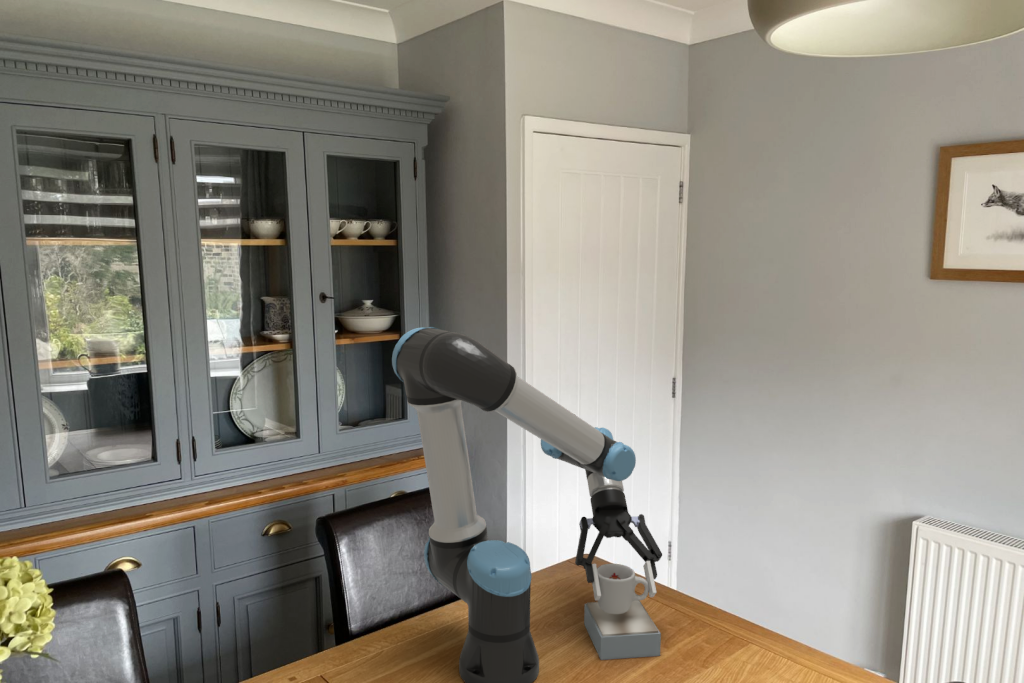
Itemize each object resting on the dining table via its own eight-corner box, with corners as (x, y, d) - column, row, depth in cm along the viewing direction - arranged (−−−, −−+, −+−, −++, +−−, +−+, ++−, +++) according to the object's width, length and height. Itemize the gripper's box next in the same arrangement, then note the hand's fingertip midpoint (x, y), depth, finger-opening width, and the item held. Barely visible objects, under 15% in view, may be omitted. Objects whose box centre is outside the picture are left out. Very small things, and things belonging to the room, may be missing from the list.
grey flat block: (600, 659, 145) (601, 635, 144) (584, 624, 158) (584, 601, 158) (660, 655, 146) (660, 631, 145) (638, 620, 160) (639, 598, 159)
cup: (646, 601, 155) (647, 564, 154) (649, 620, 147) (650, 581, 146) (594, 598, 156) (595, 562, 155) (594, 617, 148) (595, 579, 147)
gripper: (654, 500, 166) (676, 599, 153) (552, 505, 163) (565, 606, 149) (662, 485, 160) (686, 586, 147) (557, 489, 157) (571, 593, 144)
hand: (625, 596), depth 148 cm, fingers closed on cup, 11 cm apart
